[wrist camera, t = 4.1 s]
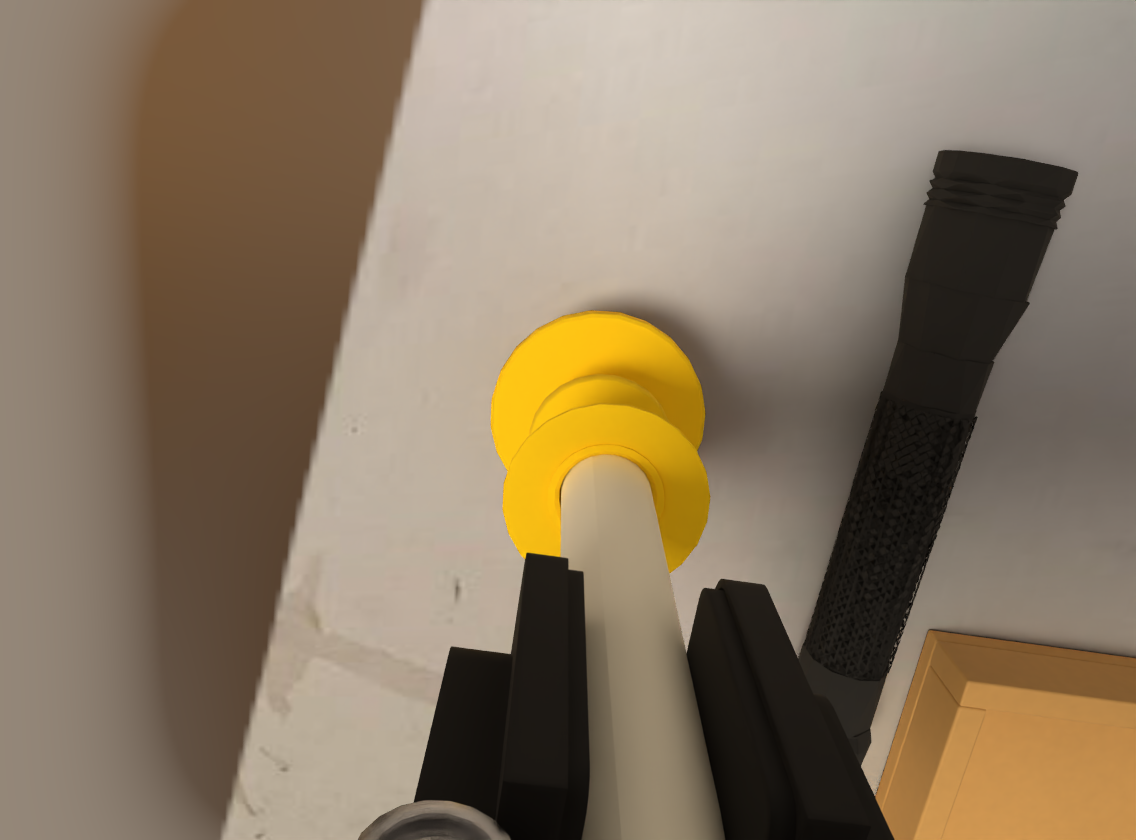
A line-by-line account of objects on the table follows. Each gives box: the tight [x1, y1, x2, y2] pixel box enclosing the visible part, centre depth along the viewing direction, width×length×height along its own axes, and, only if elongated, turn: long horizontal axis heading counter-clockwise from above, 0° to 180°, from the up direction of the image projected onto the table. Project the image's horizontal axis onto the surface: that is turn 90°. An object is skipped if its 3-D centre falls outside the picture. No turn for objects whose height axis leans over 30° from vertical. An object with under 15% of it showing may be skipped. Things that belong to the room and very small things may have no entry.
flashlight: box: [798, 150, 1078, 766], centre depth 22 cm, size 3×16×3 cm, turn 170°
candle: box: [491, 310, 725, 840], centre depth 13 cm, size 5×5×16 cm
